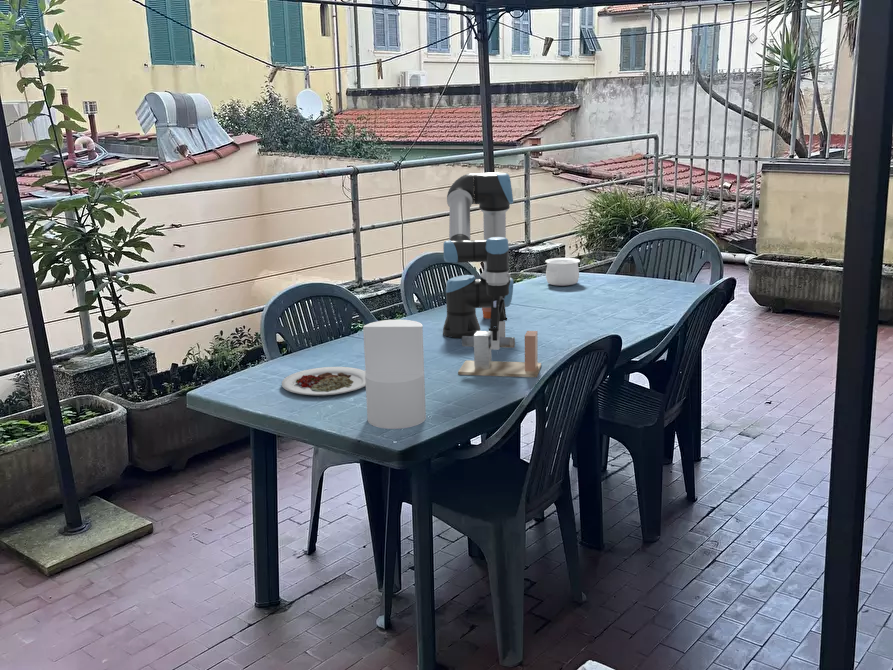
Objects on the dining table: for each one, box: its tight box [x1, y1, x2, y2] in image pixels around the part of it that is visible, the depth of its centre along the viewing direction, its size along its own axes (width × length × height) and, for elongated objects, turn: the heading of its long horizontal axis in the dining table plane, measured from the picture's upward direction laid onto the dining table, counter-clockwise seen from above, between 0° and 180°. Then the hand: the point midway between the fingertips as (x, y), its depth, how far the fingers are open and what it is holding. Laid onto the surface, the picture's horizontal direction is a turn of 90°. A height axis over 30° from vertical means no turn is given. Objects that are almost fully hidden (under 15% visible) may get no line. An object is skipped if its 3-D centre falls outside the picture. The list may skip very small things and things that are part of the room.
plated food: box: [281, 366, 366, 396], centre depth 291 cm, size 30×30×3 cm
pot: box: [545, 257, 581, 286], centre depth 440 cm, size 22×17×12 cm
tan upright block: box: [524, 330, 539, 371], centre depth 297 cm, size 4×7×12 cm, turn 168°
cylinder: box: [362, 319, 427, 430], centre depth 253 cm, size 17×17×28 cm
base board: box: [457, 359, 542, 378], centre depth 301 cm, size 27×14×1 cm, turn 78°
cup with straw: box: [481, 308, 491, 320], centre depth 375 cm, size 9×9×18 cm
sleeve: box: [473, 330, 493, 369], centre depth 301 cm, size 5×6×12 cm
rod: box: [461, 336, 516, 349], centre depth 299 cm, size 18×4×4 cm, turn 78°
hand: (498, 344), depth 299 cm, fingers open, 13 cm apart
